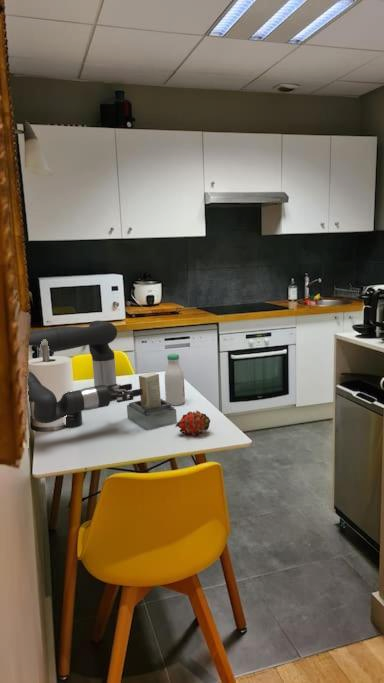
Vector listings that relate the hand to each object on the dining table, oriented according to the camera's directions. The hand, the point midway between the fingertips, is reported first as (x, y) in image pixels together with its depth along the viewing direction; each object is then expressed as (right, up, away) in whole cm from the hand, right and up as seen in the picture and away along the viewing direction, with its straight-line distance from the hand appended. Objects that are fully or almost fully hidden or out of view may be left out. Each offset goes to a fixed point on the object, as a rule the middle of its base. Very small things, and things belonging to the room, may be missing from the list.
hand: (136, 389), depth 178 cm
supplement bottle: (-24, -14, +4) cm, 28 cm away
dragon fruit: (+20, -14, -10) cm, 27 cm away
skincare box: (+5, -7, +4) cm, 9 cm away
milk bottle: (+13, -8, +24) cm, 29 cm away
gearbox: (+5, -12, +5) cm, 14 cm away
